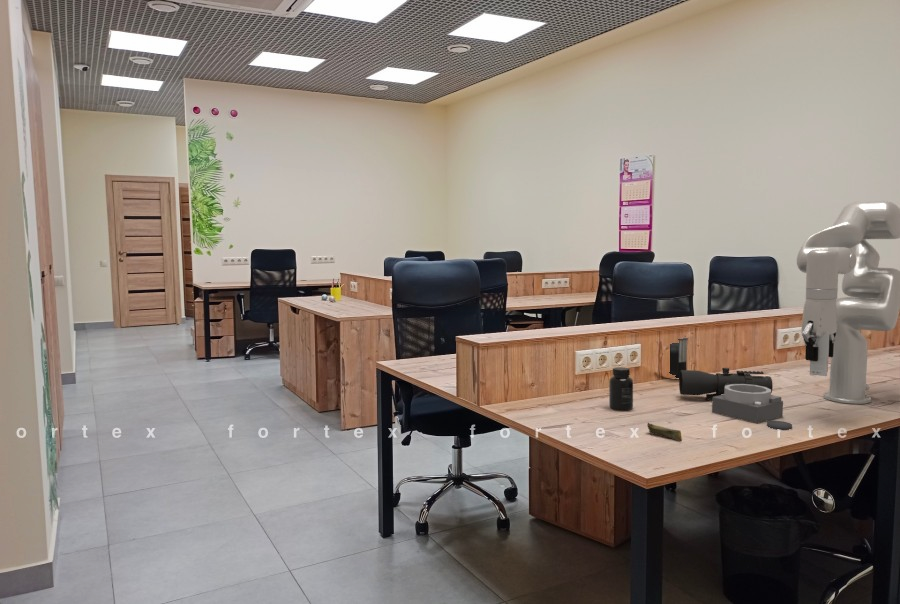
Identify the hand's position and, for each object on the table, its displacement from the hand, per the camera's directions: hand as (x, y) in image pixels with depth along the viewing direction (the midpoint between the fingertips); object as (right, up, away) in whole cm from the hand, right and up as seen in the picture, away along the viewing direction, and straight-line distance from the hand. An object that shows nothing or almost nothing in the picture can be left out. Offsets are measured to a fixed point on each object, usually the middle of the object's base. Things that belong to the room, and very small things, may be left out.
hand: (819, 358), depth 181 cm
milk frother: (-18, -12, +54) cm, 58 cm away
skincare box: (0, -4, +1) cm, 5 cm away
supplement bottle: (-51, -16, +14) cm, 55 cm away
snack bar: (-48, -19, -15) cm, 54 cm away
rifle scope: (-17, -15, +23) cm, 32 cm away
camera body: (-18, -16, +5) cm, 25 cm away
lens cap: (-14, -18, -7) cm, 24 cm away
